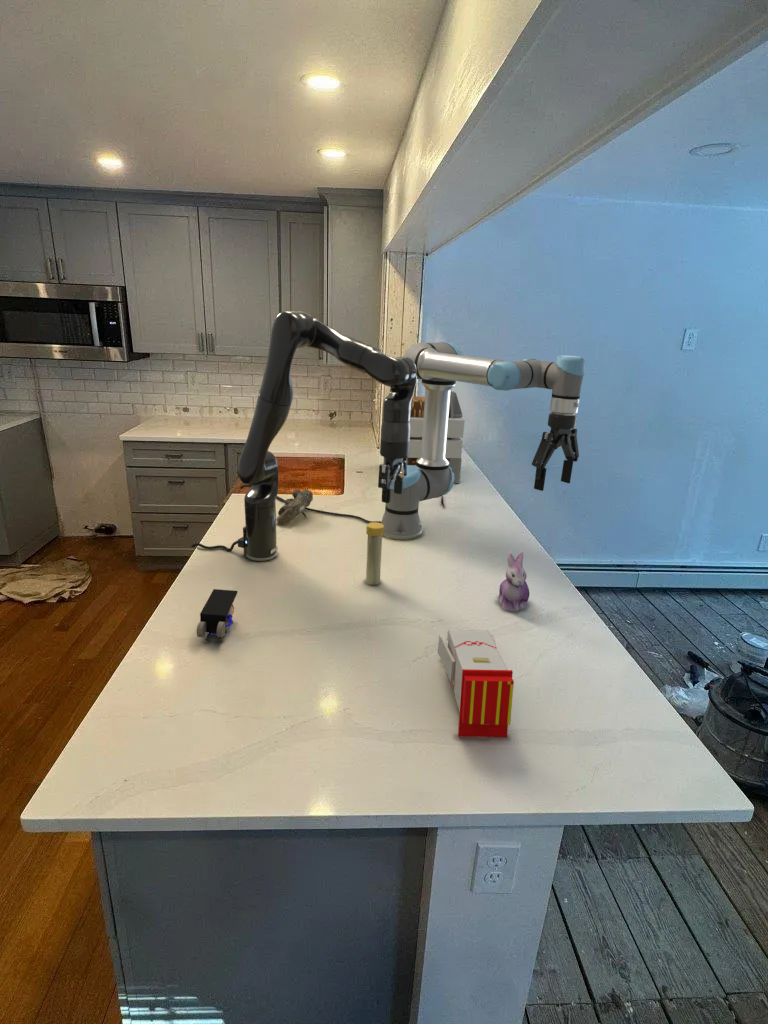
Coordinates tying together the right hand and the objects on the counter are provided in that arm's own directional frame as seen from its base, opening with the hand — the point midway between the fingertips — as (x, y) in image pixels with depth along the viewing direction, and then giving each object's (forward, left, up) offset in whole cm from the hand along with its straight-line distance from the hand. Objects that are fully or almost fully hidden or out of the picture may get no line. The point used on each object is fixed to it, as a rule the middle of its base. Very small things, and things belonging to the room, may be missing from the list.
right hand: (552, 485), depth 166 cm
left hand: (-19, -46, 0) cm, 50 cm away
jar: (-25, -46, -28) cm, 59 cm away
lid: (-25, -46, -11) cm, 53 cm away
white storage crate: (-101, +46, -28) cm, 115 cm away
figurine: (+8, -23, -28) cm, 37 cm away
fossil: (-83, -35, -28) cm, 95 cm away
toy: (+26, -62, -28) cm, 72 cm away
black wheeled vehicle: (-27, -92, -28) cm, 100 cm away
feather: (-68, +28, -28) cm, 79 cm away
